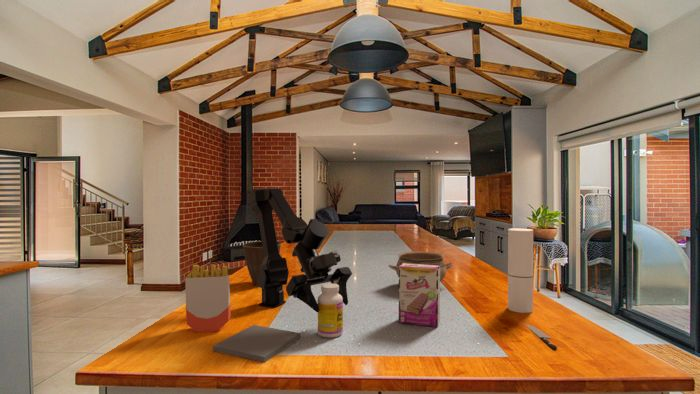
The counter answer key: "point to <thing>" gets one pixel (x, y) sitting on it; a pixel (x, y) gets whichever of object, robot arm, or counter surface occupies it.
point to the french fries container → (207, 299)
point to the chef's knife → (541, 336)
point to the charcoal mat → (257, 343)
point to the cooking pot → (422, 261)
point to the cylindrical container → (520, 270)
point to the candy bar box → (419, 294)
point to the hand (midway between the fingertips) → (333, 307)
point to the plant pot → (255, 258)
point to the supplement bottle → (330, 311)
